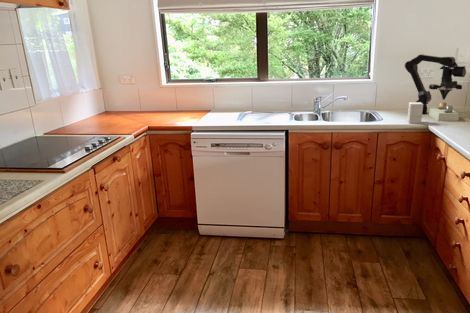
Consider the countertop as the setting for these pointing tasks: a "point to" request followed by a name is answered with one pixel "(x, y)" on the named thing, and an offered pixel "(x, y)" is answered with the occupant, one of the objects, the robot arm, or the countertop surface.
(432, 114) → the socket block
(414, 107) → the supplement box
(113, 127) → the countertop surface
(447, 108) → the steel peg
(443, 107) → the oak peg
